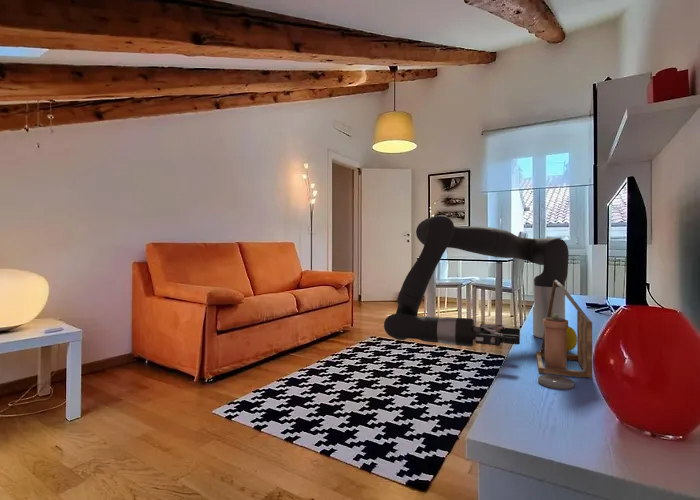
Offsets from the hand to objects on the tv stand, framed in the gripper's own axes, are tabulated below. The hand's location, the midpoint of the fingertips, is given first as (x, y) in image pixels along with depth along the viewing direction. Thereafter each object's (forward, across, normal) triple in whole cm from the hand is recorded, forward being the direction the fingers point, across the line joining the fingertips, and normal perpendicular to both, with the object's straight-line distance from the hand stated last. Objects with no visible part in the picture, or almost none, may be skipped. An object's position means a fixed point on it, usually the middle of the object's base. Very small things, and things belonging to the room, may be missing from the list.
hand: (519, 336), depth 99 cm
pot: (+8, 0, +7) cm, 11 cm away
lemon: (+12, +17, +7) cm, 22 cm away
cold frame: (+10, +2, +7) cm, 12 cm away
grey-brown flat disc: (+7, -13, +7) cm, 16 cm away
